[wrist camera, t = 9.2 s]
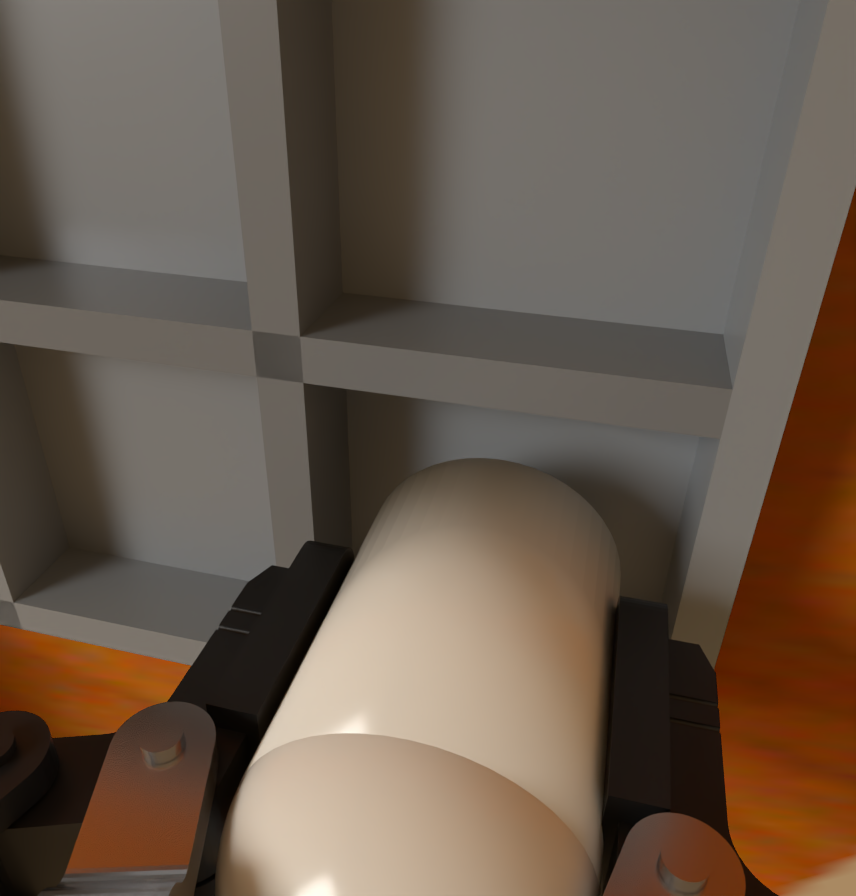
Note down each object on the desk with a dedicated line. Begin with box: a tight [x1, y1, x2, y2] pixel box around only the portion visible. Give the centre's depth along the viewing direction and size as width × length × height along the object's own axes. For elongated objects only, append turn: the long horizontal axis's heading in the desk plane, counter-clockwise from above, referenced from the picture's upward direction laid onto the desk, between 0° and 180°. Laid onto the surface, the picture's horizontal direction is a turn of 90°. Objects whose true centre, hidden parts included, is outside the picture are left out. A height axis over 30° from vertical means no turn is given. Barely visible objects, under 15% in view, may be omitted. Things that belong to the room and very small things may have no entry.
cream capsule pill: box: [215, 458, 621, 896], centre depth 11 cm, size 4×4×8 cm
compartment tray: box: [0, 0, 856, 669], centre depth 14 cm, size 15×15×2 cm
